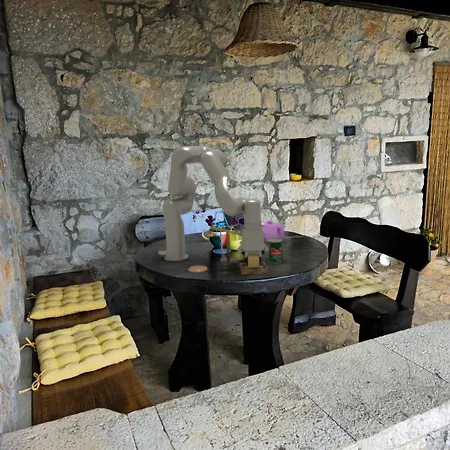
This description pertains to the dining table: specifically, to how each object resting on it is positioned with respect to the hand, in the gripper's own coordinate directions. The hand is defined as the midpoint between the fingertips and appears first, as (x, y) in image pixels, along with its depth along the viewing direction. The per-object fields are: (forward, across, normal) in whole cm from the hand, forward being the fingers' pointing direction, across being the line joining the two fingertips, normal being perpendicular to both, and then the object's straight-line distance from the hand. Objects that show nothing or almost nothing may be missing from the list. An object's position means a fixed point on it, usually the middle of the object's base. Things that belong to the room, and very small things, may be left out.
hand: (253, 264), depth 188 cm
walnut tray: (+3, 0, 0) cm, 3 cm away
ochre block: (0, 0, 0) cm, 0 cm away
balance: (+3, +11, -15) cm, 19 cm away
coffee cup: (+3, -2, -25) cm, 25 cm away
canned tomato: (+3, -12, -13) cm, 18 cm away
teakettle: (+3, -15, -57) cm, 59 cm away
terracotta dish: (+3, +26, -4) cm, 26 cm away
